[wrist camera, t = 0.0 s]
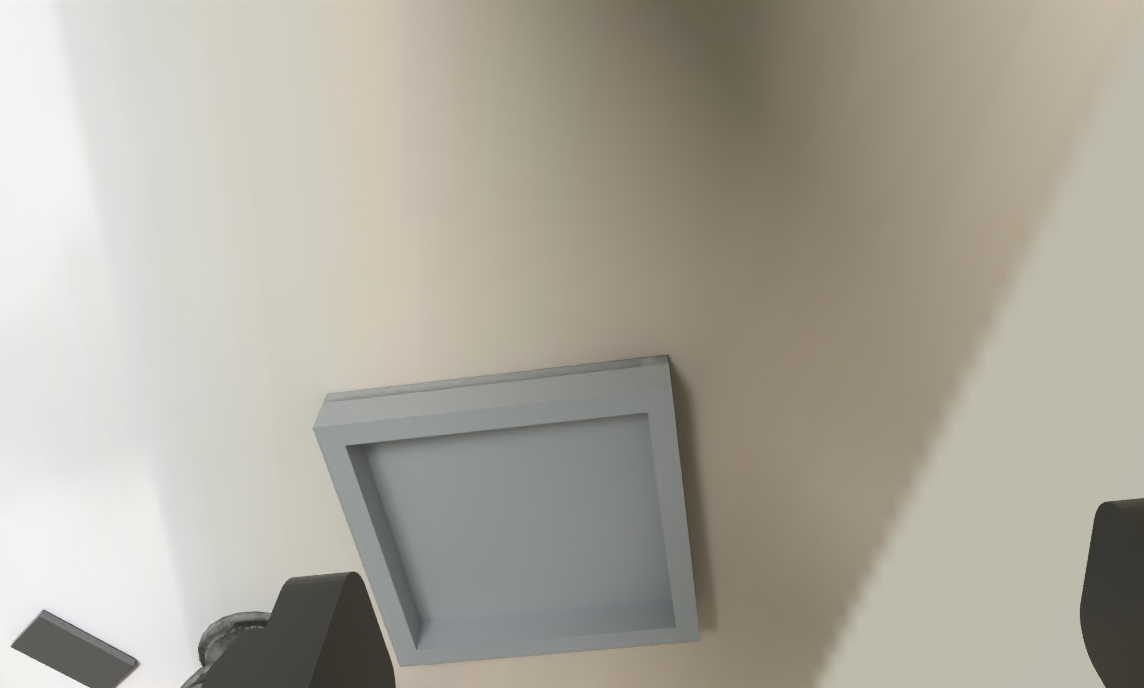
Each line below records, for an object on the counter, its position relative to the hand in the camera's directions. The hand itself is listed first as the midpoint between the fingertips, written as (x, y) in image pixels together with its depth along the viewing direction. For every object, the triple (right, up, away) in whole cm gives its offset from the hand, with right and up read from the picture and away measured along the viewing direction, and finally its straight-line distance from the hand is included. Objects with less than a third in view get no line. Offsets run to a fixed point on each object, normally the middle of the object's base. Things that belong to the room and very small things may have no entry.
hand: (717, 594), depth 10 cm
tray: (-3, -3, +22) cm, 22 cm away
